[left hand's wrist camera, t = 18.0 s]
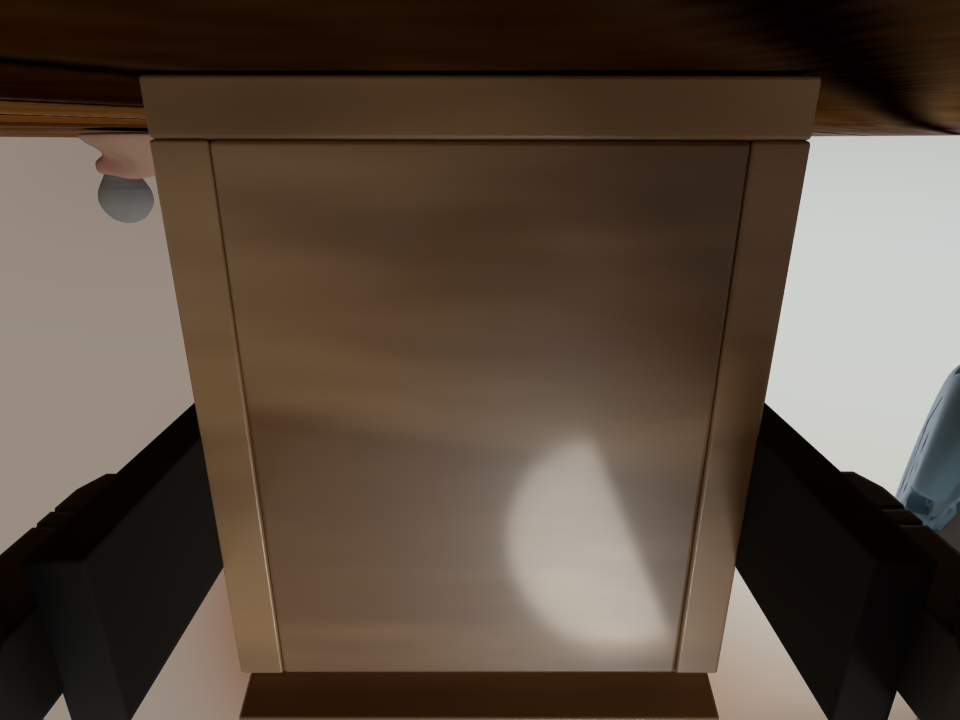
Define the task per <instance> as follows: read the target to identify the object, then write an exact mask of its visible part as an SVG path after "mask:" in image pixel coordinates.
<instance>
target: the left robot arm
mask: <svg viewBox="0 0 960 720" xmlns="http://www.w3.org/2000/svg"><path fill="white" fill-rule="evenodd" d="M735 566H736V568H737V570H738V571H739V573H740V575H741V576H742V578H743V580H744V581H745V583H746V585H747V586H748V588H749V589H750V591H751V593H752V595H753V596H754V598H755V600H756V601H757V603H758V604H759V606H760V608H761V609H762V611H763V613H764V614H765V616H766V618H767V619H768V621H769V623H770V624H771V626H772V628H773V629H774V631H775V633H776V634H777V636H778V638H779V639H780V641H781V643H782V644H783V646H784V647H785V649H786V651H787V652H788V654H789V656H790V657H791V659H792V661H793V662H794V664H795V666H796V667H797V669H798V671H799V672H800V674H801V676H802V677H803V679H804V680H805V682H806V684H807V685H808V687H809V689H810V690H811V692H812V694H813V695H814V697H815V699H816V700H817V702H818V704H819V705H820V707H821V709H822V710H823V712H824V714H825V715H826V717H827V719H828V720H888V717H889V713H890V710H891V707H892V704H893V701H894V698H895V695H896V692H897V691H898V692H899V694H900V695H901V696H902V698H903V699H904V700H905V701H906V703H907V704H908V705H909V707H910V708H911V709H912V711H913V712H914V713H915V715H916V716H917V719H916V720H960V365H959V366H957V367H956V368H955V369H954V370H953V371H952V372H951V374H950V375H949V376H948V377H947V379H946V380H945V382H944V384H943V386H942V387H941V389H940V391H939V393H938V395H937V397H936V399H935V401H934V403H933V406H932V408H931V410H930V412H929V414H928V417H927V419H926V421H925V423H924V426H923V428H922V430H921V432H920V435H919V437H918V440H917V442H916V444H915V447H914V449H913V452H912V454H911V457H910V459H909V462H908V464H907V467H906V469H905V472H904V474H903V477H902V480H901V482H900V485H899V488H898V490H897V493H896V496H895V497H894V496H893V495H891V494H890V493H889V492H888V491H887V490H886V489H884V488H883V487H881V486H879V485H878V484H876V483H874V482H872V481H870V480H868V479H866V478H864V477H862V476H860V475H858V474H857V473H855V472H840V471H839V470H838V469H837V468H836V467H835V466H834V465H833V464H832V463H830V462H829V461H828V460H827V459H826V458H825V457H824V456H823V455H822V454H820V453H819V452H818V451H817V450H816V449H815V448H814V447H813V446H812V445H811V444H809V443H808V442H807V441H806V440H805V439H804V438H803V437H802V436H801V435H800V434H798V433H797V432H796V431H795V430H794V429H793V428H792V427H791V426H790V425H789V424H787V423H786V422H785V421H784V420H783V419H782V418H781V417H780V416H779V415H778V414H776V413H775V412H774V411H773V410H772V409H771V408H770V407H769V406H768V405H766V404H765V403H764V408H763V413H762V419H761V425H760V430H759V436H758V439H757V445H756V451H755V456H754V462H753V468H752V474H751V479H750V485H749V491H748V496H747V502H746V508H745V513H744V519H743V525H742V531H741V536H740V542H739V548H738V553H737V559H736V565H735ZM223 567H224V565H223V559H222V554H221V548H220V542H219V536H218V531H217V525H216V519H215V514H214V508H213V502H212V496H211V491H210V485H209V479H208V474H207V468H206V462H205V456H204V451H203V445H202V439H201V436H200V430H199V424H198V419H197V413H196V407H195V403H194V404H193V405H192V406H191V407H189V408H188V409H187V410H186V411H185V412H184V413H183V414H182V415H181V416H179V417H178V418H177V419H176V420H175V421H174V422H173V423H172V424H171V425H170V426H169V427H167V428H166V429H165V430H164V431H163V432H162V433H161V434H160V435H159V436H157V437H156V438H155V439H154V440H153V441H152V442H151V443H150V444H149V445H148V446H146V447H145V448H144V449H143V450H142V451H141V452H140V453H139V454H138V455H137V456H135V457H134V458H133V459H132V460H131V461H130V462H129V463H128V464H127V465H126V466H124V467H123V468H122V469H121V470H120V471H119V472H118V473H117V474H105V475H103V476H101V477H100V478H98V479H96V480H94V481H92V482H90V483H88V484H86V485H84V486H83V487H81V488H79V489H77V490H76V491H74V492H73V493H72V494H71V495H70V496H69V497H67V498H66V499H65V500H64V501H63V502H62V503H60V504H59V505H58V506H57V507H56V508H55V512H50V513H49V514H48V515H46V516H45V517H44V518H43V519H42V520H41V521H39V522H38V523H37V527H36V528H31V529H30V530H29V531H28V532H27V533H25V534H24V535H23V536H22V537H21V538H20V539H18V540H17V541H16V542H15V543H14V544H13V545H11V546H10V547H9V548H8V549H7V550H6V551H4V552H3V553H2V554H1V555H0V720H44V719H43V718H44V717H45V716H46V714H47V713H48V712H49V710H50V709H51V708H52V706H53V705H54V704H55V702H56V701H57V700H58V698H59V697H60V696H61V694H62V693H63V695H64V698H65V701H66V704H67V707H68V710H69V713H70V716H71V719H72V720H131V719H132V717H133V716H134V714H135V712H136V711H137V709H138V707H139V706H140V704H141V702H142V701H143V699H144V697H145V696H146V694H147V692H148V691H149V689H150V688H151V686H152V684H153V683H154V681H155V679H156V678H157V676H158V674H159V673H160V671H161V669H162V668H163V666H164V664H165V663H166V661H167V659H168V658H169V656H170V655H171V653H172V651H173V650H174V648H175V646H176V645H177V643H178V641H179V640H180V638H181V636H182V635H183V633H184V631H185V630H186V628H187V626H188V625H189V623H190V621H191V620H192V618H193V616H194V615H195V613H196V612H197V610H198V608H199V607H200V605H201V603H202V602H203V600H204V598H205V597H206V595H207V593H208V592H209V590H210V588H211V587H212V585H213V583H214V582H215V580H216V578H217V577H218V575H219V574H220V572H221V570H222V569H223Z"/></svg>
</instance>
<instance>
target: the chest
mask: <svg viewBox="0 0 960 720" xmlns="http://www.w3.org/2000/svg"><path fill="white" fill-rule="evenodd" d="M139 81H140V86H141V92H142V98H143V104H144V110H145V115H146V121H147V127H148V133H149V135H150V137H151V138H153V139H152V140H150V148H151V154H152V159H153V165H154V171H155V177H156V182H157V188H158V194H159V200H160V205H161V211H162V217H163V223H164V228H165V234H166V240H167V246H168V252H169V257H170V263H171V269H172V275H173V280H174V286H175V292H176V297H177V303H178V309H179V315H180V321H181V326H182V332H183V338H184V344H185V349H186V355H187V361H188V367H189V373H190V378H191V384H192V390H193V395H194V401H195V407H196V413H197V419H198V424H199V430H200V436H201V439H202V445H203V451H204V456H205V462H206V468H207V474H208V479H209V485H210V491H211V496H212V502H213V508H214V514H215V519H216V525H217V531H218V536H219V542H220V548H221V554H222V559H223V565H224V567H223V568H224V574H225V580H226V586H227V591H228V597H229V603H230V609H231V615H232V620H233V626H234V632H235V638H236V643H237V649H238V655H239V661H240V666H241V671H242V672H243V673H282V672H283V671H284V670H285V671H287V672H673V671H674V670H675V672H677V673H715V672H717V667H718V662H719V656H720V650H721V645H722V639H723V633H724V628H725V622H726V616H727V611H728V605H729V599H730V594H731V588H732V583H733V577H734V571H735V565H736V559H737V553H738V548H739V542H740V536H741V531H742V525H743V519H744V513H745V508H746V502H747V496H748V491H749V485H750V479H751V474H752V468H753V462H754V456H755V451H756V445H757V439H758V436H759V430H760V425H761V419H762V413H763V408H764V402H765V396H766V391H767V385H768V379H769V374H770V368H771V362H772V357H773V351H774V345H775V340H776V334H777V328H778V323H779V317H780V312H781V306H782V300H783V295H784V289H785V284H786V278H787V272H788V266H789V261H790V255H791V250H792V244H793V238H794V233H795V227H796V221H797V215H798V210H799V204H800V199H801V193H802V188H803V182H804V176H805V171H806V165H807V159H808V154H809V148H810V143H809V142H808V141H805V140H808V139H810V137H811V135H812V130H813V124H814V118H815V113H816V107H817V101H818V96H819V90H820V84H821V78H820V77H818V76H788V75H331V74H143V75H141V76H140V78H139Z"/></svg>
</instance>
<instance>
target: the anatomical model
mask: <svg viewBox="0 0 960 720" xmlns="http://www.w3.org/2000/svg"><path fill="white" fill-rule="evenodd" d="M78 137H79V138H80V139H81V140H82V141H84V142H85V143H87V144H89V145H91V146H93V147H95V148H96V149H98V150H100V151H101V152H102V156H101V157H100V158H99V159H98V160H97V161H96V168H97V171H98V172H100V173H102V174H107V175H114V176H119V177H122V178H128V179H140V178H146V177H152V176H155V171H154V165H153V159H152V154H151V148H150V140H152V139H153V138H151V137H150V135H149V133H148V132H100V133H81V134H78Z"/></svg>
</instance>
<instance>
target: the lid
mask: <svg viewBox="0 0 960 720" xmlns="http://www.w3.org/2000/svg"><path fill="white" fill-rule="evenodd" d="M239 718H240V720H719V716H718V712H717V708H716V705H715V701H714V697H713V693H712V689H711V686H710V682H709V678H708V674H707V673H677V672H675V671H673V672H287V671H285V670H284V671H283V672H282V673H251V675H250V678H249V682H248V686H247V690H246V693H245V697H244V701H243V705H242V708H241V712H240V716H239Z"/></svg>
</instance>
